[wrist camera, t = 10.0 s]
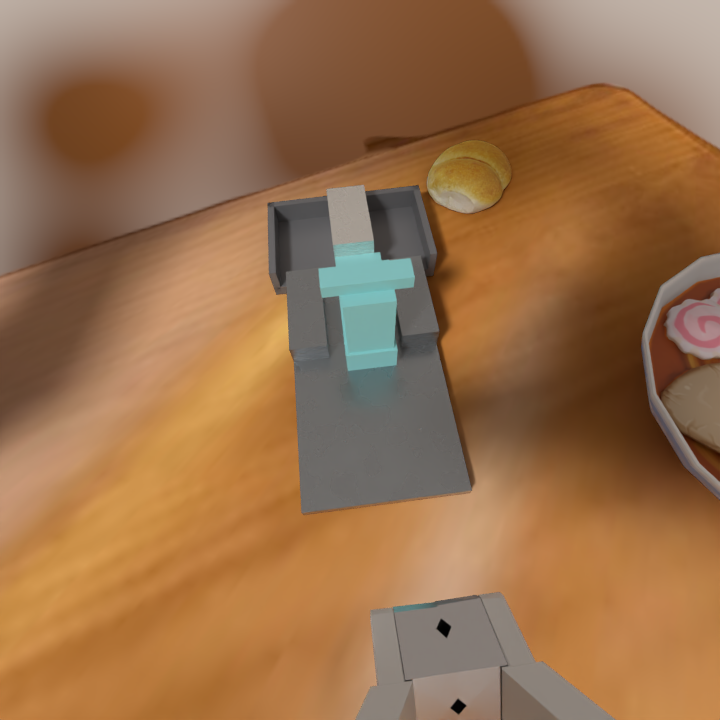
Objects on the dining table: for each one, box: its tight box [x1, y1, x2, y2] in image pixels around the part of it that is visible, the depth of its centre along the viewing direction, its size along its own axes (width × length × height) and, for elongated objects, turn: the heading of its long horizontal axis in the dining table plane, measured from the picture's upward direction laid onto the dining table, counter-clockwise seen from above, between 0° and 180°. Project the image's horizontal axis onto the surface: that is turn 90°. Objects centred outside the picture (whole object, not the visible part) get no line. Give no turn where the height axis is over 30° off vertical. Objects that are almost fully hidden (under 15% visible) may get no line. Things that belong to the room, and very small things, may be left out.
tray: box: [268, 185, 437, 295], centre depth 40 cm, size 15×9×3 cm, turn 97°
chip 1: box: [326, 185, 368, 217], centre depth 39 cm, size 4×4×4 cm
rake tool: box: [318, 252, 415, 371], centre depth 32 cm, size 6×10×10 cm, turn 6°
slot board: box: [286, 255, 472, 515], centre depth 33 cm, size 12×20×3 cm, turn 7°
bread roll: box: [427, 140, 512, 214], centre depth 43 cm, size 8×9×4 cm
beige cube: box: [330, 211, 374, 264], centre depth 37 cm, size 4×4×4 cm
